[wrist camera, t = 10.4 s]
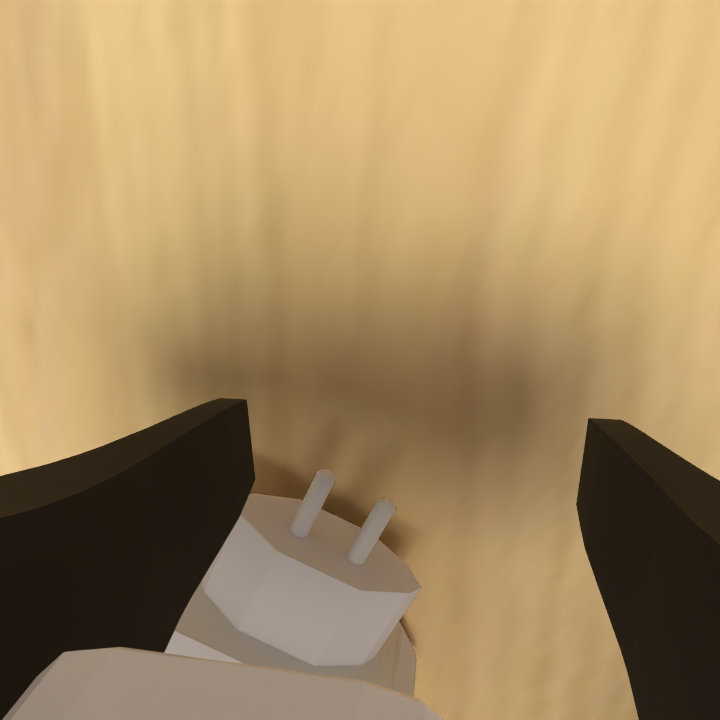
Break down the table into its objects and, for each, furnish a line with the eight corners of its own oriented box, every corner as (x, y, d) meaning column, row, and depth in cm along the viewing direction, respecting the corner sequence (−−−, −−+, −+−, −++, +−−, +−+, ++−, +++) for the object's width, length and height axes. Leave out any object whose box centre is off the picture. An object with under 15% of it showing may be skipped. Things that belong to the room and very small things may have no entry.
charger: (511, 506, 16) (322, 771, 22) (231, 372, 16) (116, 675, 22) (531, 637, 12) (290, 924, 18) (149, 456, 12) (33, 805, 18)
